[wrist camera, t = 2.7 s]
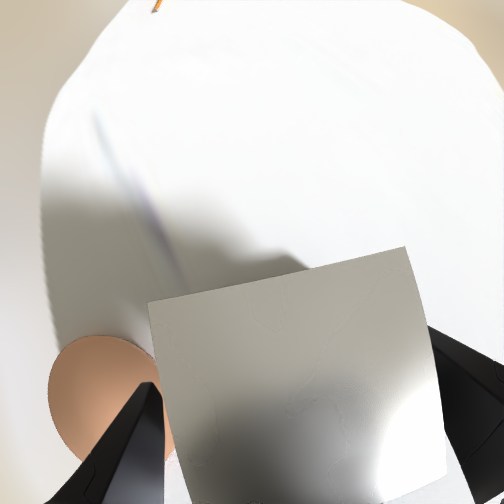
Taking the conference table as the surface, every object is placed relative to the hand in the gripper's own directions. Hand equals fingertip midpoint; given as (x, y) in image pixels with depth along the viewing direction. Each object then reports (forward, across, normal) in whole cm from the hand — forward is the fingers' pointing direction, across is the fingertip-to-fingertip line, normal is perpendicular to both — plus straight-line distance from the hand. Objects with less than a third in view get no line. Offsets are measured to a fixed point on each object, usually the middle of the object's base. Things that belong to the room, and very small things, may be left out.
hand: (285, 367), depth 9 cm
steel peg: (+6, 0, +6) cm, 8 cm away
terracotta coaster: (+4, +12, +7) cm, 14 cm away
